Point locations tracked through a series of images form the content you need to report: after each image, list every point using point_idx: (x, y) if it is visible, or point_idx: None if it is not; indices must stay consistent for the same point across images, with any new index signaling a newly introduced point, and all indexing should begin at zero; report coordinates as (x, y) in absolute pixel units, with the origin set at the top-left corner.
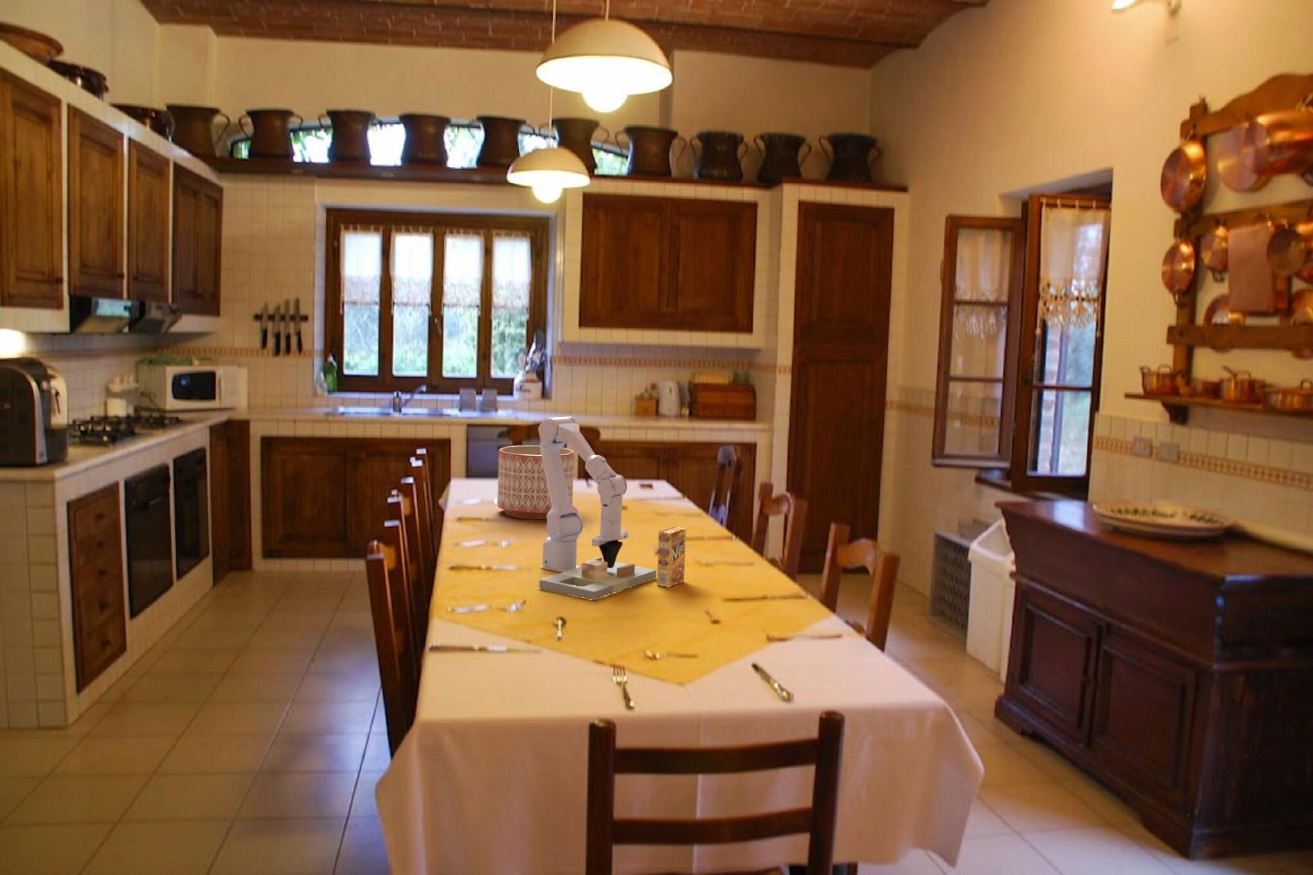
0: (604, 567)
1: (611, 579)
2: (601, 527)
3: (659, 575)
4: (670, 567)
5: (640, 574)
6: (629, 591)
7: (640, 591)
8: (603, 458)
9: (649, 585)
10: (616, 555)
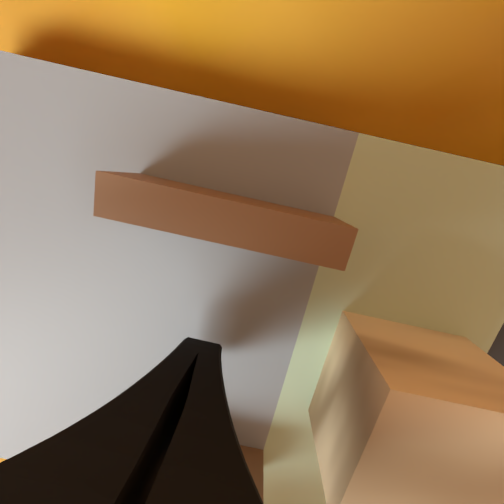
0: (417, 366)
1: (408, 255)
2: None
3: None
4: None
5: (156, 106)
6: (401, 109)
7: (373, 33)
8: None
9: (193, 37)
10: (135, 397)
